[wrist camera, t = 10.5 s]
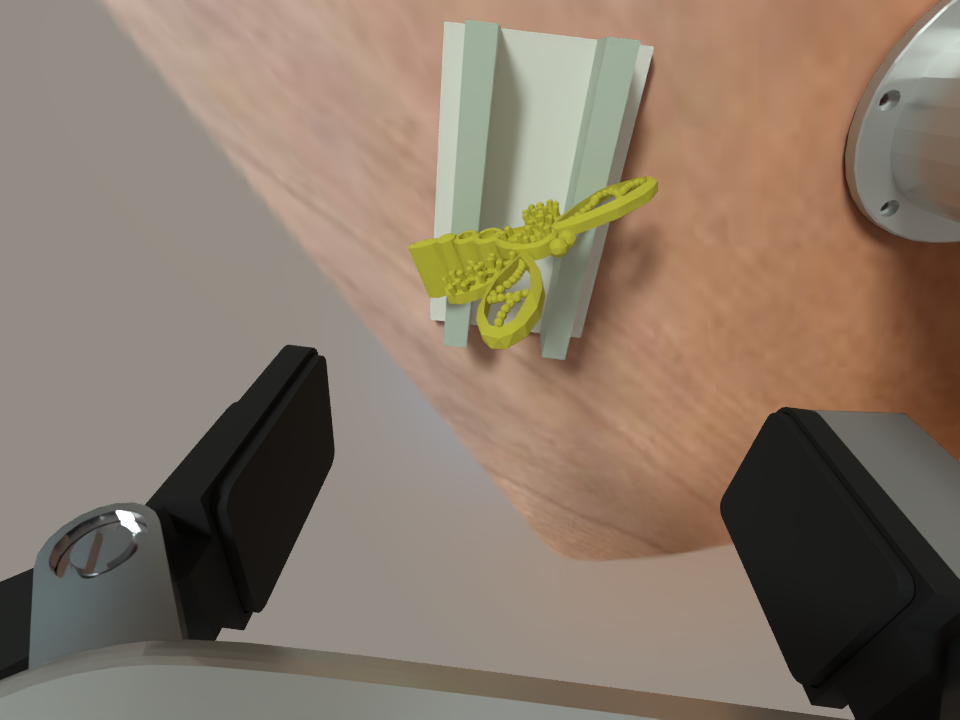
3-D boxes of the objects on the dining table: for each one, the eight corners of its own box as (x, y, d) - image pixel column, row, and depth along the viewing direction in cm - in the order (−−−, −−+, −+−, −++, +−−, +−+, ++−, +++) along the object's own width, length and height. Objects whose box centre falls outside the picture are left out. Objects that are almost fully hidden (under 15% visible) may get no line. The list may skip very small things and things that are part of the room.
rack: (650, 47, 23) (671, 44, 19) (579, 332, 31) (586, 362, 28) (446, 22, 23) (434, 15, 20) (431, 313, 31) (422, 342, 28)
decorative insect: (495, 176, 28) (662, 162, 21) (509, 227, 30) (667, 227, 23) (331, 295, 21) (502, 326, 15) (363, 351, 23) (527, 399, 17)
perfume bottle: (905, 413, 33) (1233, 709, 18) (863, 480, 37) (1107, 774, 21) (805, 409, 33) (1044, 696, 18) (774, 476, 37) (952, 761, 22)
